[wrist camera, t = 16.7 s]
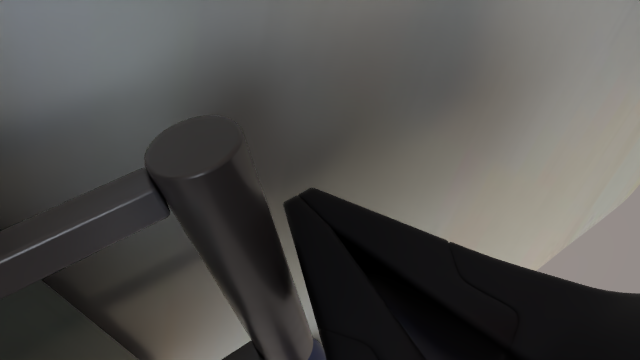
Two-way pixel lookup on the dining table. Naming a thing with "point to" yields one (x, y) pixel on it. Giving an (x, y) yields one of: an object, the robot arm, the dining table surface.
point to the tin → (317, 351)
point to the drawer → (139, 213)
